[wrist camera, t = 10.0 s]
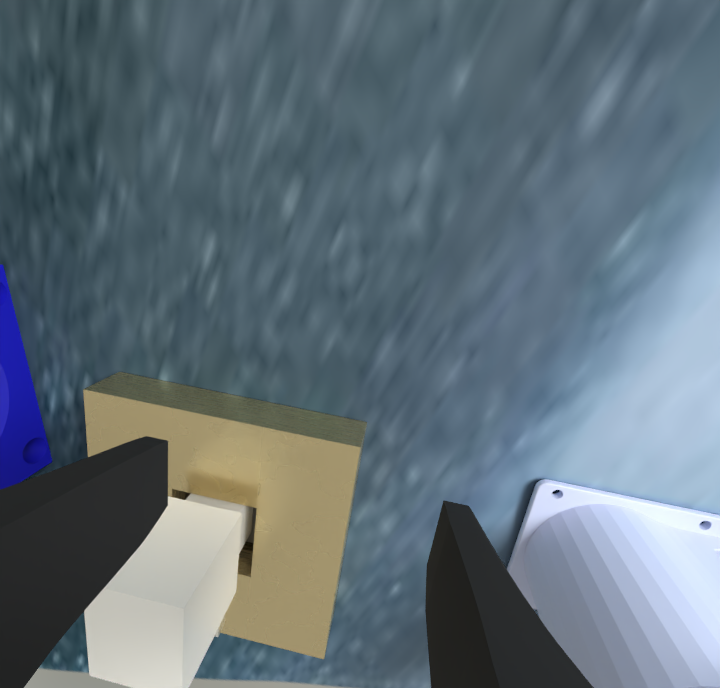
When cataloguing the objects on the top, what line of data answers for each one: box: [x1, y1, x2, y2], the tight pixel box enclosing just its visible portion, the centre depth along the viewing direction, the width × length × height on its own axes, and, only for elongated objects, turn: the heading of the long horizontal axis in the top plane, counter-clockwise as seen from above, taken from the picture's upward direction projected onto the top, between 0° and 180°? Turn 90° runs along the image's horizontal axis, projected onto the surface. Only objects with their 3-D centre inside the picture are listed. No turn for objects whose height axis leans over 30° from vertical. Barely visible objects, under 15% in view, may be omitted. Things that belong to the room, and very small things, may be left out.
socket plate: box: [83, 372, 367, 659], centre depth 22 cm, size 14×14×3 cm
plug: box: [84, 493, 253, 688], centre depth 19 cm, size 4×5×8 cm
